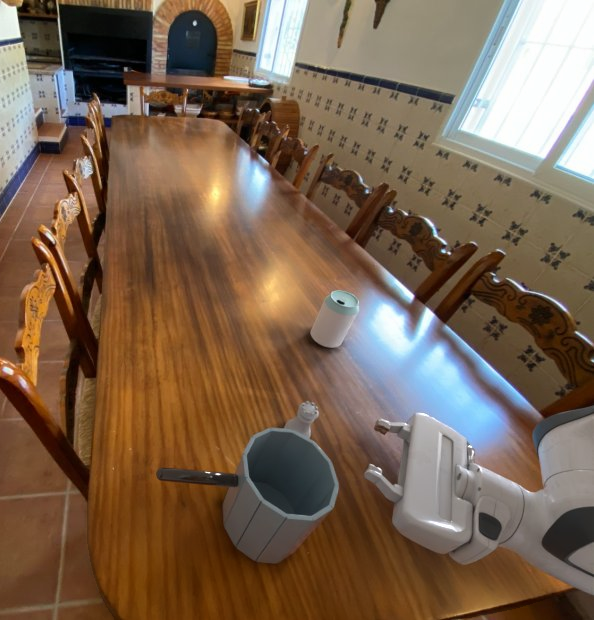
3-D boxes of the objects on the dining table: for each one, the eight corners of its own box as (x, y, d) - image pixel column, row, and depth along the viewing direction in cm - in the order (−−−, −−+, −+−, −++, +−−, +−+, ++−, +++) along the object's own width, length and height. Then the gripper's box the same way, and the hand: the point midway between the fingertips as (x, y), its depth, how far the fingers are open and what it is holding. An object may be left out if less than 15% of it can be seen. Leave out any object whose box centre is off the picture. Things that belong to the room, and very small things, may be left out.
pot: (290, 483, 56) (323, 432, 47) (306, 566, 48) (351, 524, 38) (156, 471, 56) (161, 417, 47) (149, 552, 48) (153, 506, 38)
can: (343, 352, 80) (366, 311, 72) (311, 346, 81) (330, 305, 73) (337, 331, 85) (358, 291, 78) (307, 326, 86) (325, 285, 78)
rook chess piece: (292, 418, 66) (306, 391, 60) (313, 436, 63) (330, 409, 58) (278, 431, 63) (291, 405, 58) (299, 450, 61) (314, 424, 56)
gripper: (486, 431, 55) (389, 388, 60) (495, 562, 41) (368, 491, 46) (462, 452, 59) (373, 410, 64) (462, 578, 45) (349, 511, 50)
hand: (371, 445), depth 55 cm, fingers open, 8 cm apart
